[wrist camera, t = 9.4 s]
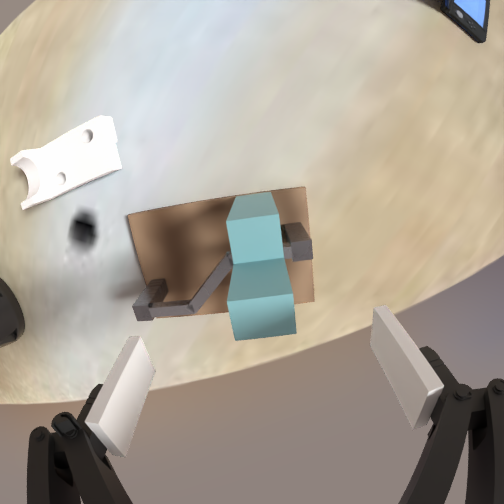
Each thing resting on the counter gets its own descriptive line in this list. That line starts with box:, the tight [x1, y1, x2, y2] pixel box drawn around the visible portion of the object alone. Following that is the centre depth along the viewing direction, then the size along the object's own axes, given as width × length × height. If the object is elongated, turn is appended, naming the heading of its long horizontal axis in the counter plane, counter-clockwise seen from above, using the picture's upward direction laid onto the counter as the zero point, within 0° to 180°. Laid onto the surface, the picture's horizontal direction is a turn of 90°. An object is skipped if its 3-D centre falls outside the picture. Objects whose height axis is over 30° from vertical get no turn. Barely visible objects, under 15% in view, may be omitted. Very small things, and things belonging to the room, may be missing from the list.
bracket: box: [10, 115, 122, 210], centre depth 29 cm, size 13×7×8 cm, turn 104°
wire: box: [132, 222, 313, 321], centre depth 32 cm, size 21×4×7 cm, turn 118°
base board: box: [128, 187, 314, 318], centre depth 36 cm, size 22×15×1 cm
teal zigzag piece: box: [226, 192, 296, 341], centre depth 26 cm, size 4×10×18 cm, turn 8°
